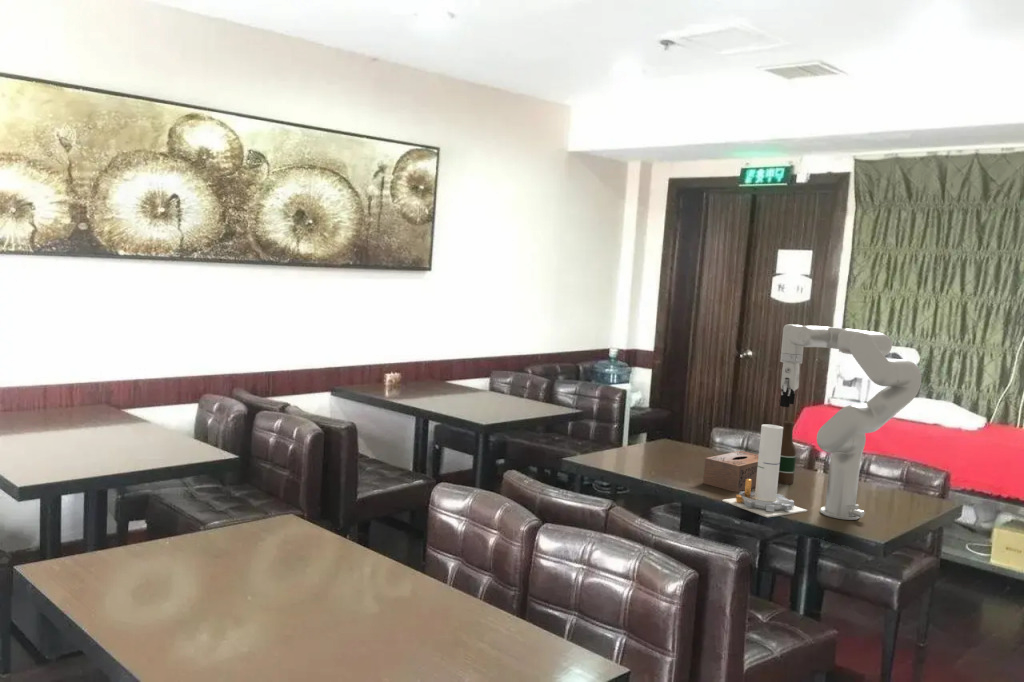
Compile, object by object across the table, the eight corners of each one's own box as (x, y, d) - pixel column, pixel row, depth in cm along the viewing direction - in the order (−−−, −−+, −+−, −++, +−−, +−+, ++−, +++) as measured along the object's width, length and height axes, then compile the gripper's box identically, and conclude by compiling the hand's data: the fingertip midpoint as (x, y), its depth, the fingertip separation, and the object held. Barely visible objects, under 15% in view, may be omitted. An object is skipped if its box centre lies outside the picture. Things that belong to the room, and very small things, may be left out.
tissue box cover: (738, 475, 330) (740, 450, 330) (771, 483, 320) (773, 458, 319) (703, 483, 312) (705, 457, 311) (736, 492, 302) (739, 466, 301)
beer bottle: (771, 478, 327) (777, 419, 325) (792, 480, 326) (797, 420, 324) (773, 483, 320) (779, 422, 317) (794, 485, 318) (800, 424, 316)
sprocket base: (807, 511, 282) (807, 510, 282) (767, 517, 271) (767, 516, 271) (761, 495, 299) (761, 494, 299) (722, 501, 288) (722, 499, 288)
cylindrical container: (772, 501, 280) (779, 429, 278) (752, 497, 284) (758, 425, 281) (778, 497, 286) (785, 426, 284) (758, 493, 290) (764, 423, 287)
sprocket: (786, 498, 293) (788, 476, 293) (799, 514, 274) (801, 490, 274) (731, 493, 295) (733, 472, 295) (740, 508, 276) (742, 485, 276)
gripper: (798, 361, 288) (793, 409, 290) (806, 358, 304) (801, 403, 305) (776, 358, 292) (771, 406, 293) (785, 356, 307) (780, 401, 309)
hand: (787, 405), depth 299 cm, fingers open, 9 cm apart
